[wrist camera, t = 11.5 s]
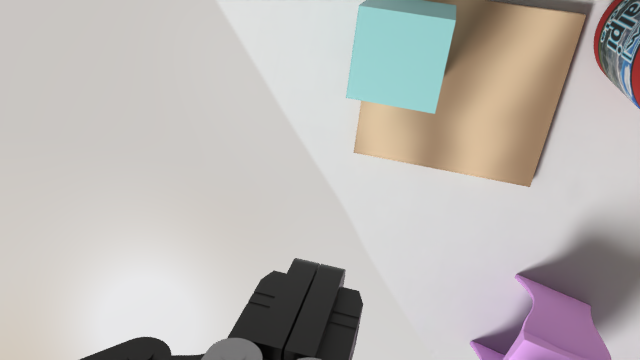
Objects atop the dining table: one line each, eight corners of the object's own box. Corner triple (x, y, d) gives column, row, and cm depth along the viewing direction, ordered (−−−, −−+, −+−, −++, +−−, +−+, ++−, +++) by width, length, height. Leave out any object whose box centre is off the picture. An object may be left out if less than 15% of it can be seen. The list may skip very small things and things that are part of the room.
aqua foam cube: (456, 5, 33) (455, 20, 27) (438, 84, 35) (435, 113, 29) (376, -7, 34) (358, 5, 28) (364, 71, 36) (346, 97, 30)
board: (583, 13, 33) (586, 15, 32) (528, 182, 38) (529, 186, 37) (380, -15, 35) (378, -14, 34) (355, 148, 40) (353, 152, 39)
